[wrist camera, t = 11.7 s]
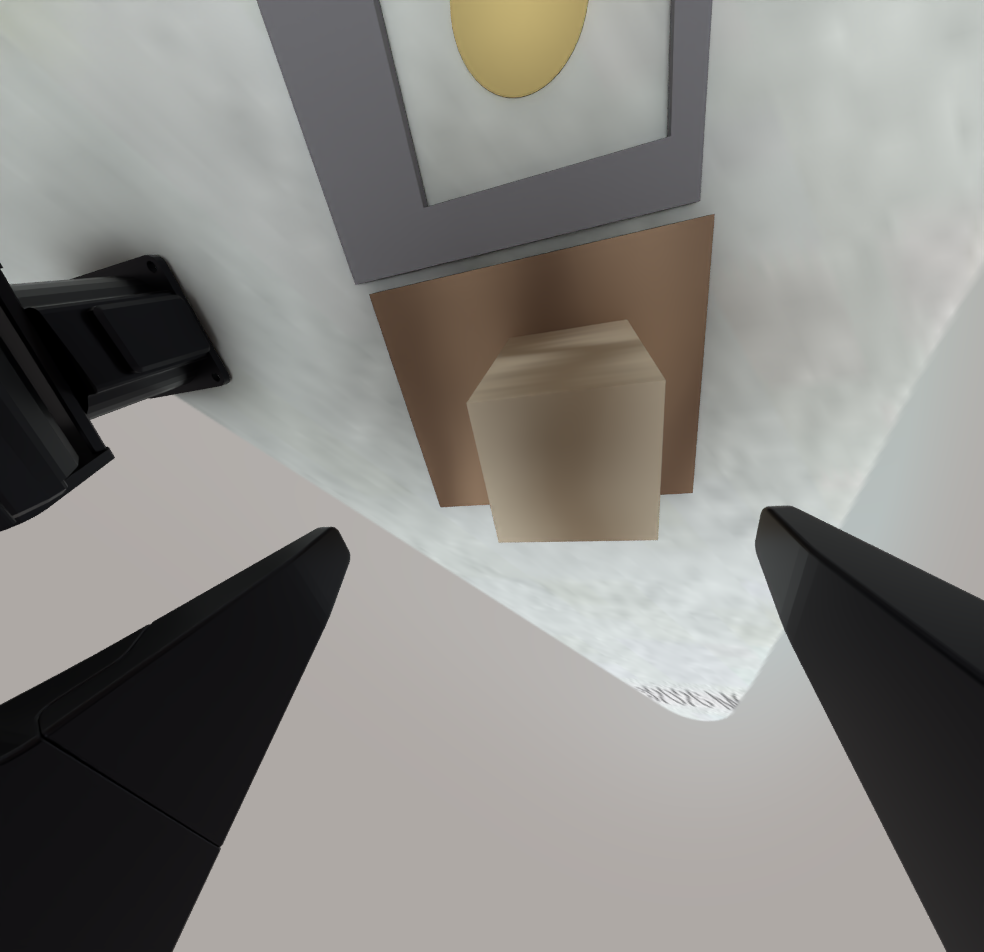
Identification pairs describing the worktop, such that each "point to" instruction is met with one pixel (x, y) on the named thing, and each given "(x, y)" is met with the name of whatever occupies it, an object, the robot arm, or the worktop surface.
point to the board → (544, 308)
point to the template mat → (503, 71)
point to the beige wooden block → (572, 436)
